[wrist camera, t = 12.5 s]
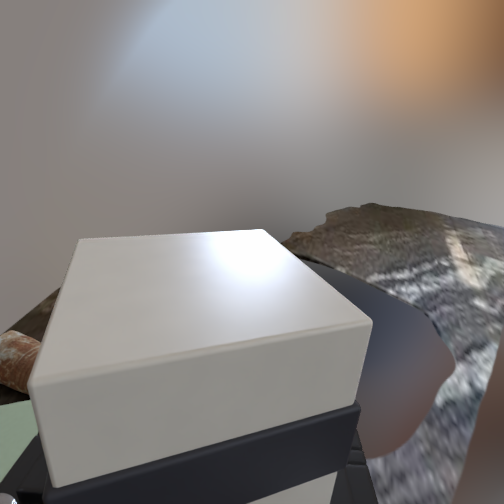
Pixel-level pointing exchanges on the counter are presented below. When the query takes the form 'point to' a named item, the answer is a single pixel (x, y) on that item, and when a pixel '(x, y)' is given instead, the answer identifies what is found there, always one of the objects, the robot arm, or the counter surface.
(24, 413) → the cabinet
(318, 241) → the counter surface
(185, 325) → the white tall square block
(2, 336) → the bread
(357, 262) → the counter surface
